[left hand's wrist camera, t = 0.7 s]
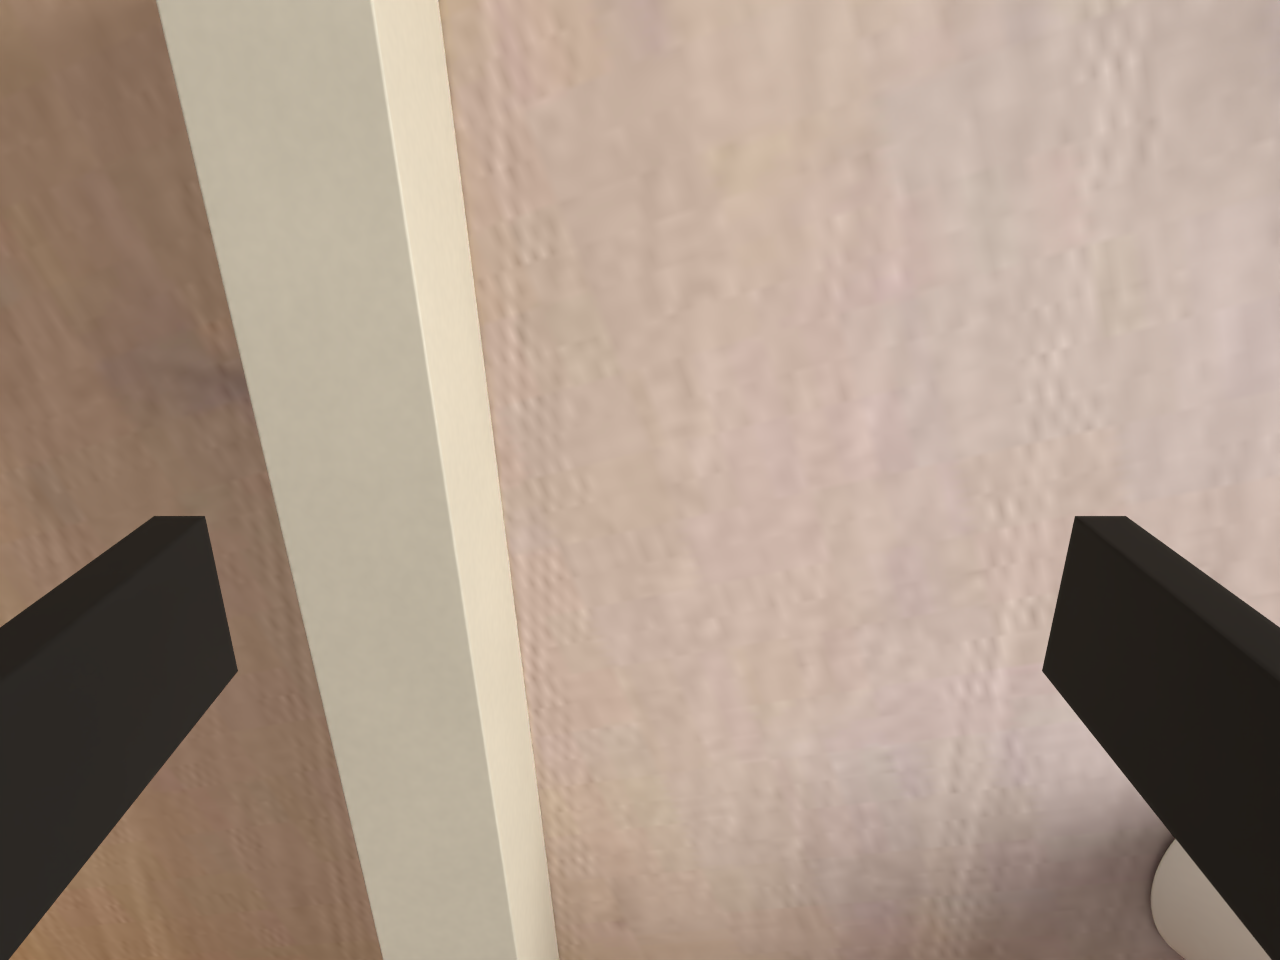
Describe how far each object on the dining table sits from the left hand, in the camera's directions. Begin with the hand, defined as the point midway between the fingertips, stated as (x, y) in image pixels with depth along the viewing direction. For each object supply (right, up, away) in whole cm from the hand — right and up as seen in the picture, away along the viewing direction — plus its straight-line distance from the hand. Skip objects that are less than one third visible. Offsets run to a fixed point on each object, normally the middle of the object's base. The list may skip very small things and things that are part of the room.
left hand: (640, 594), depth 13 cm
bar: (-8, -6, +25) cm, 27 cm away
